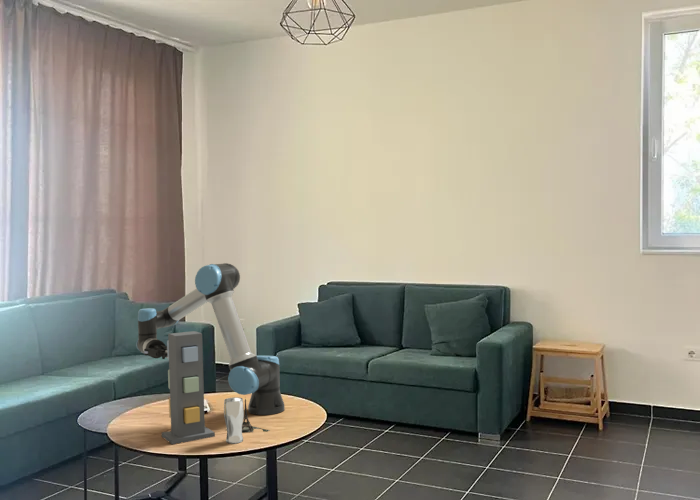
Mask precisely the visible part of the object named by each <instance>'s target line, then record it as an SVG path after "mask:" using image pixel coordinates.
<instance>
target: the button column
mask: <svg viewBox="0 0 700 500" xmlns="http://www.w3.org/2000/svg"><path fill="white" fill-rule="evenodd" d="M167 335H168V337H167V339H168V340H167V341H169V360H168V370H169V375H170V389H169V399H170V408H171V418H170V430H169V431H168V430H167V431H162V432H161V438H163V439H164V438H165V439H166V440H165V439H164V440H165V441H167V442H168V441H169V442H170V443H169V442H168V443H169V444H170V445H177V444H176V443H178V444H182V443H181V442H183V443H188V442H193V441H194V442H195V441H198V440H203V439H208V438H214V437H216V433H215V431H213V430H212V429H210V428H208V427H206V424H205V423H206V422H205V421H206V419H205V418H206V417H205V391H204V390H205V389H204V388H205V387H204V384H205V383H204V358H203V357H204V355H203V354H204V353H203V333H201V332H198V331H196V330H193V331H183V332H173V333H167ZM185 346H196V347H198V361H193V362H182V353H181V347H185ZM188 376H197V377H199V391H196V392H190V393H184V392H183V387H182V377H188ZM191 406H198V407H199V408H200V421H199V422H193V423H188V424H186V423H185V422H184V421H183V408H185V407H191Z"/></svg>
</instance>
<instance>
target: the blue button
mask: <svg viewBox="0 0 700 500" xmlns="http://www.w3.org/2000/svg"><path fill="white" fill-rule="evenodd" d="M166 346H167V354H168V358H167V360H168V361H169V341H168V340H166ZM181 353H182V362H193V361H198V347H196V346H185V347H181Z"/></svg>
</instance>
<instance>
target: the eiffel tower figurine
mask: <svg viewBox="0 0 700 500" xmlns="http://www.w3.org/2000/svg"><path fill="white" fill-rule="evenodd" d="M247 409H248V407H247V399H246V398H245V399H244V416H243V424H242V434H246V433H254V430H262V432H264V433H265V432H267V433H268V432H269V431H271V430H270V429H267V428H266V429H265V428H261V427H259V426H258V427H257V426H254V425H253V426H252V424H251V422H250V420H249V416H248V410H247ZM225 431H227V428H226V429H225Z"/></svg>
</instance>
